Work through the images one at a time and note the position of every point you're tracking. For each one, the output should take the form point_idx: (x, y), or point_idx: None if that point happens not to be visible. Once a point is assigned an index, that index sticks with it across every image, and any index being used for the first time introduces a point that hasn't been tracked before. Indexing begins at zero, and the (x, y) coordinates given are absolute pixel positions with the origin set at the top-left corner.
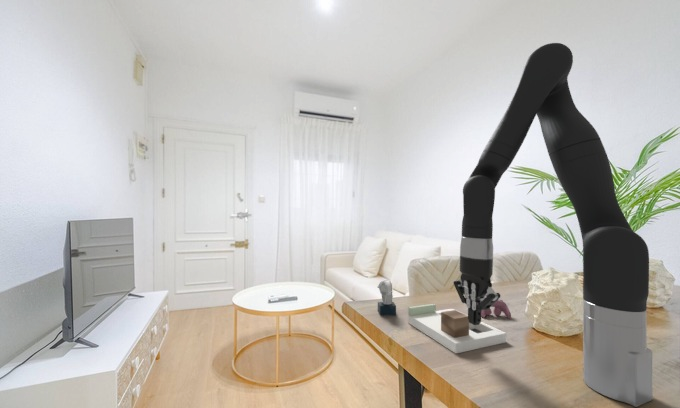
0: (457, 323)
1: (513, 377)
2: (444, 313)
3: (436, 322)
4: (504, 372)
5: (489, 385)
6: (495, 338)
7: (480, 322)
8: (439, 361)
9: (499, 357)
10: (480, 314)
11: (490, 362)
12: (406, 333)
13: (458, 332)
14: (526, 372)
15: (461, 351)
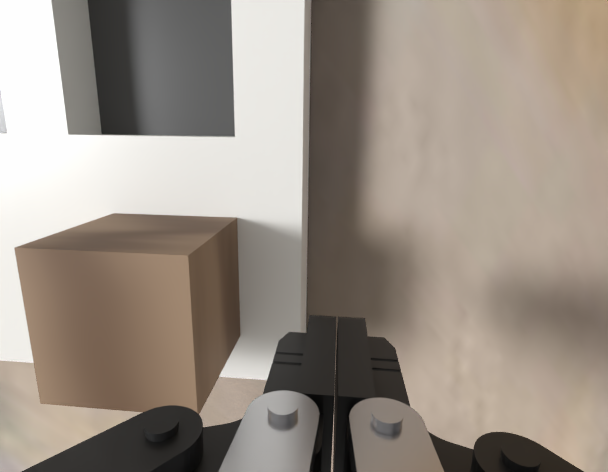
0: (212, 363)
1: (588, 277)
2: (73, 401)
3: (13, 266)
4: (538, 277)
5: (564, 425)
6: (306, 27)
7: (386, 340)
8: (332, 464)
9: (430, 164)
10: (404, 401)
11: (443, 260)
12: (51, 416)
13: (231, 319)
14: (602, 168)
15: (305, 316)
